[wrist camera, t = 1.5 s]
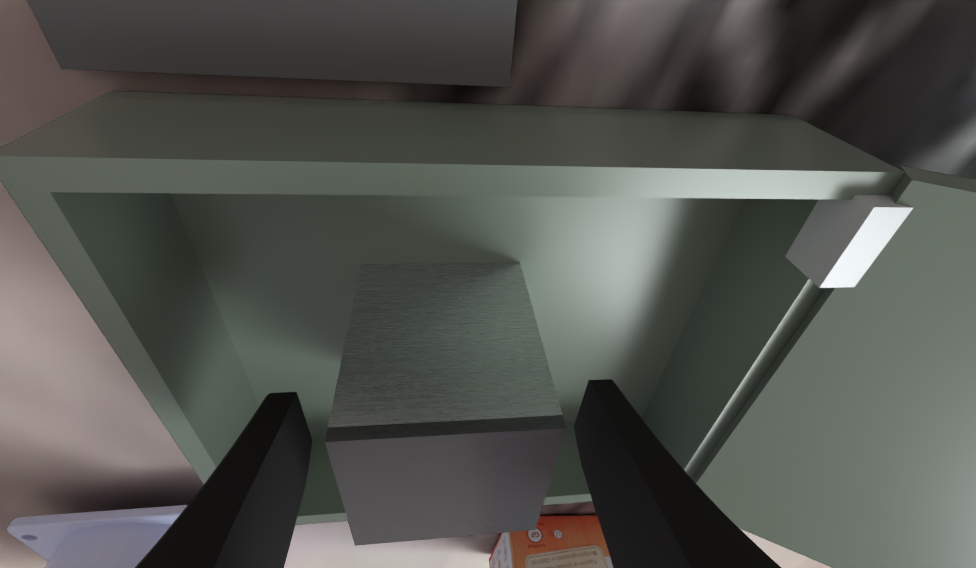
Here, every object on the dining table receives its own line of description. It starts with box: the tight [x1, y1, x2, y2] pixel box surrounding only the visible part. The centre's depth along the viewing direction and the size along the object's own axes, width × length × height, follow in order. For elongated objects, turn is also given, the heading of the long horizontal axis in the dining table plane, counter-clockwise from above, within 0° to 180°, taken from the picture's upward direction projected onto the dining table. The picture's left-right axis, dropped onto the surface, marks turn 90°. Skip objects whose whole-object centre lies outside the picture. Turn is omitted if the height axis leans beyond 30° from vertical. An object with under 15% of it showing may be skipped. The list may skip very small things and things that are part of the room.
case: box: [0, 91, 976, 568], centre depth 11 cm, size 13×29×11 cm, turn 86°
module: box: [325, 262, 566, 545], centre depth 12 cm, size 4×4×6 cm
